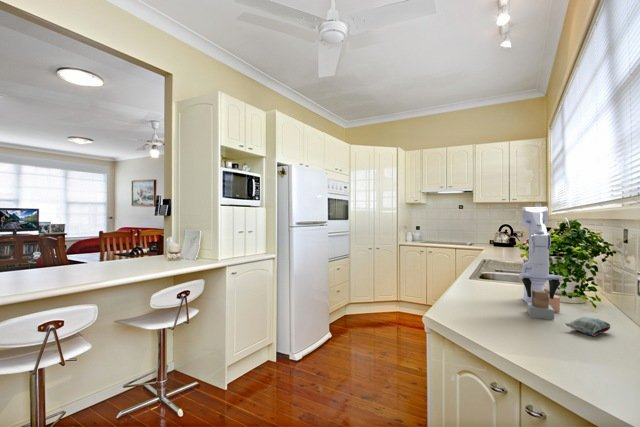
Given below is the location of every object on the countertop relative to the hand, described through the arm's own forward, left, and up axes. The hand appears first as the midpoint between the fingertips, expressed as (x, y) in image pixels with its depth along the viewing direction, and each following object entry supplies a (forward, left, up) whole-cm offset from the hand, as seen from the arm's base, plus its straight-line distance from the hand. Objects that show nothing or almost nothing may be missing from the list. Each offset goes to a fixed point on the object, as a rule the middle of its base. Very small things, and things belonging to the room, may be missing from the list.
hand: (540, 297), depth 131 cm
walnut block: (0, 0, -3) cm, 4 cm away
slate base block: (0, 0, -8) cm, 8 cm away
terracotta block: (-10, +7, -7) cm, 14 cm away
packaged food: (+16, +10, -8) cm, 20 cm away
